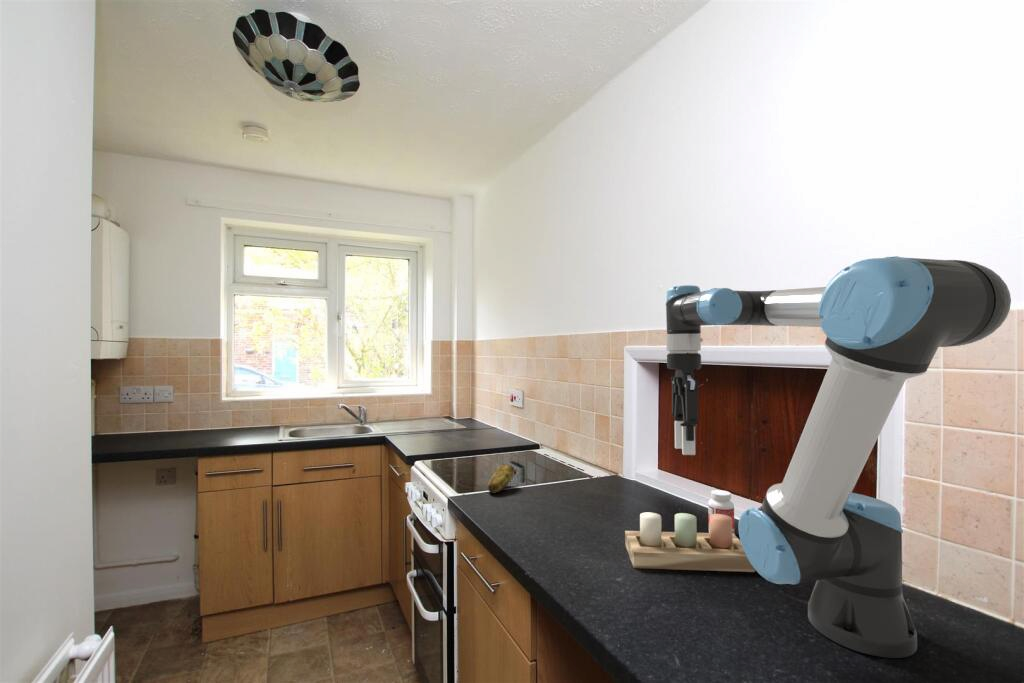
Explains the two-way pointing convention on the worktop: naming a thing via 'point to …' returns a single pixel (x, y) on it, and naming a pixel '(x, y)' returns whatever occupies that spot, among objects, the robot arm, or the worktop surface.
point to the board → (686, 554)
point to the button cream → (650, 529)
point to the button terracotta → (721, 531)
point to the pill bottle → (721, 505)
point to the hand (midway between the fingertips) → (684, 451)
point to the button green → (685, 530)
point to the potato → (500, 478)
